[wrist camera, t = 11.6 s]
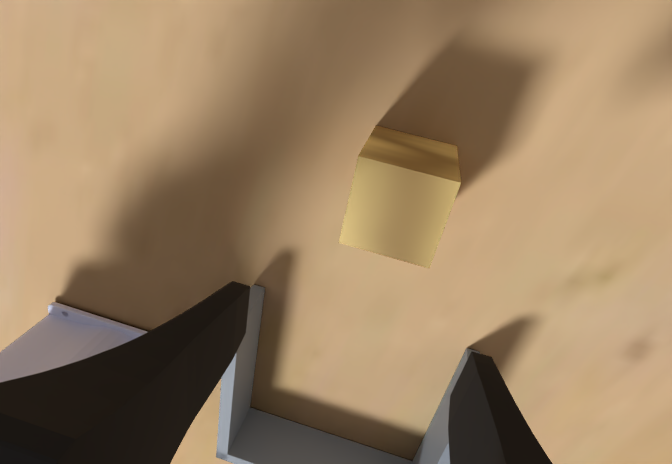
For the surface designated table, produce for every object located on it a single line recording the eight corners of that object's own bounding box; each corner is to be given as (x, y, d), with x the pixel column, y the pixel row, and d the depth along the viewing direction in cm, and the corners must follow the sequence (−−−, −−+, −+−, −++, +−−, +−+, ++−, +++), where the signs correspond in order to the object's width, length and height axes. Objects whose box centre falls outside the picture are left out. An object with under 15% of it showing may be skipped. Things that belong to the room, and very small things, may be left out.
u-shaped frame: (239, 410, 33) (216, 457, 30) (253, 284, 27) (225, 325, 23) (419, 470, 31) (416, 527, 28) (479, 351, 25) (485, 406, 22)
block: (358, 197, 22) (338, 242, 18) (376, 125, 20) (358, 156, 16) (431, 217, 22) (429, 268, 18) (457, 145, 20) (461, 182, 16)
